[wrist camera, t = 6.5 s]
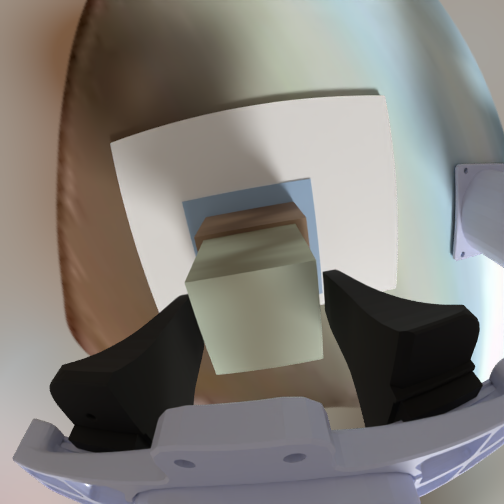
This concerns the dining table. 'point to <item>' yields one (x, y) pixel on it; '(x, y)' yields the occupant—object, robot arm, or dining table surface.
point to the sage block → (257, 300)
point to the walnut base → (252, 222)
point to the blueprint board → (266, 184)
